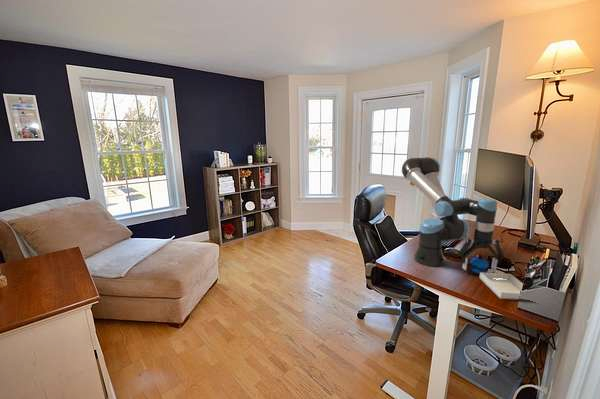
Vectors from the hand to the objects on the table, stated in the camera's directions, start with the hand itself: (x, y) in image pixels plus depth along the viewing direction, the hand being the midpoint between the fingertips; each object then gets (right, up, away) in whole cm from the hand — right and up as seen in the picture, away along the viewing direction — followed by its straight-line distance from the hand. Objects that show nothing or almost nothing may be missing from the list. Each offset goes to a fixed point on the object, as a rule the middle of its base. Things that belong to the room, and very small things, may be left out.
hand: (478, 269), depth 134 cm
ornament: (0, -2, +1) cm, 2 cm away
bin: (+3, -5, -14) cm, 15 cm away
